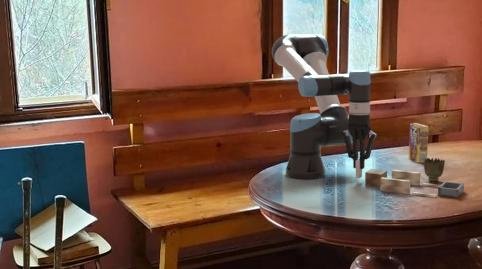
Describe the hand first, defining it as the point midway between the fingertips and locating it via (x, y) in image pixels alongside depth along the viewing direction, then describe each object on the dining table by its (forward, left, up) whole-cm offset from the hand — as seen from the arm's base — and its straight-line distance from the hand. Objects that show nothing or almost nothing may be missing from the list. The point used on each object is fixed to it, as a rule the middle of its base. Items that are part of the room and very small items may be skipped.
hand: (358, 177), depth 229 cm
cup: (+23, +14, -2) cm, 28 cm away
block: (+6, 0, -2) cm, 7 cm away
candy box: (+9, +44, -2) cm, 45 cm away
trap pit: (+33, +1, -2) cm, 33 cm away
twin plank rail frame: (+20, 0, -2) cm, 20 cm away
